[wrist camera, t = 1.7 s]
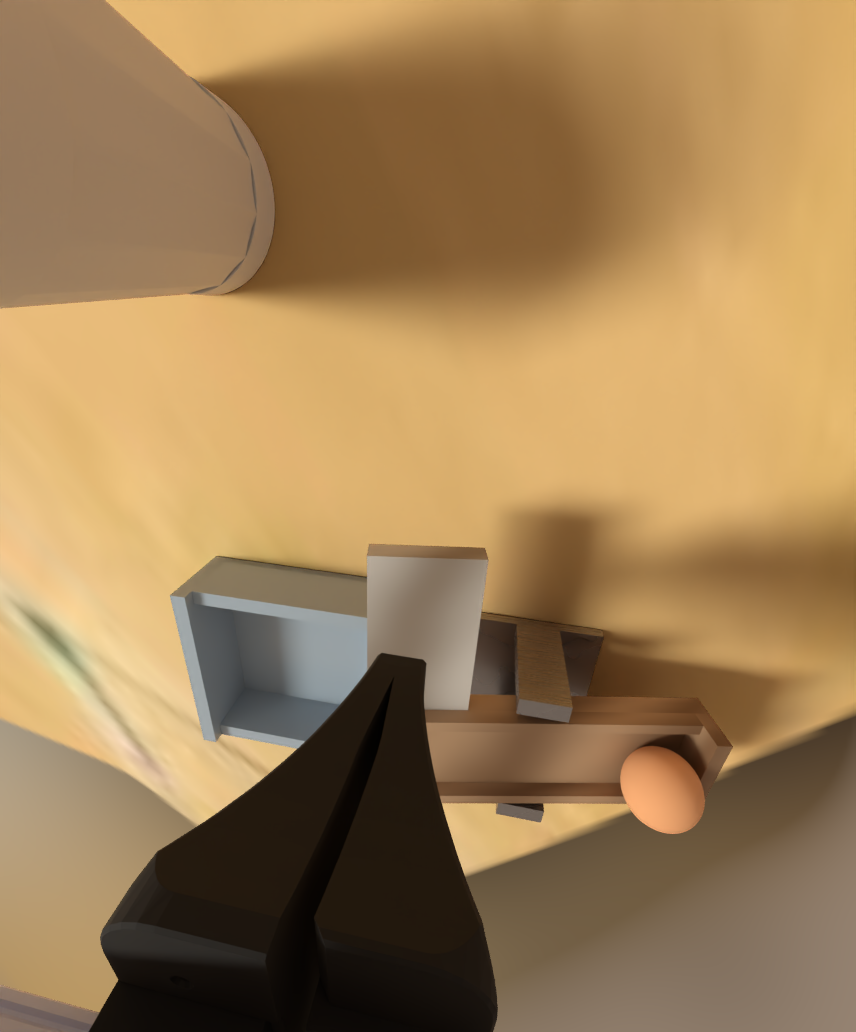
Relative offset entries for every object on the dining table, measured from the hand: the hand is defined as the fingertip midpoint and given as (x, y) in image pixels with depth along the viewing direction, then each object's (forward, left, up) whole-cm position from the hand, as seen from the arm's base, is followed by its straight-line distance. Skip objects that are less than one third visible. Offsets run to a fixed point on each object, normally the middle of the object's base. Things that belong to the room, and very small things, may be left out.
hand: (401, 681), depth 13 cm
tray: (+7, +7, -8) cm, 13 cm away
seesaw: (-5, +4, -5) cm, 8 cm away
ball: (-10, +7, -3) cm, 13 cm away
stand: (-5, +7, -8) cm, 12 cm away
